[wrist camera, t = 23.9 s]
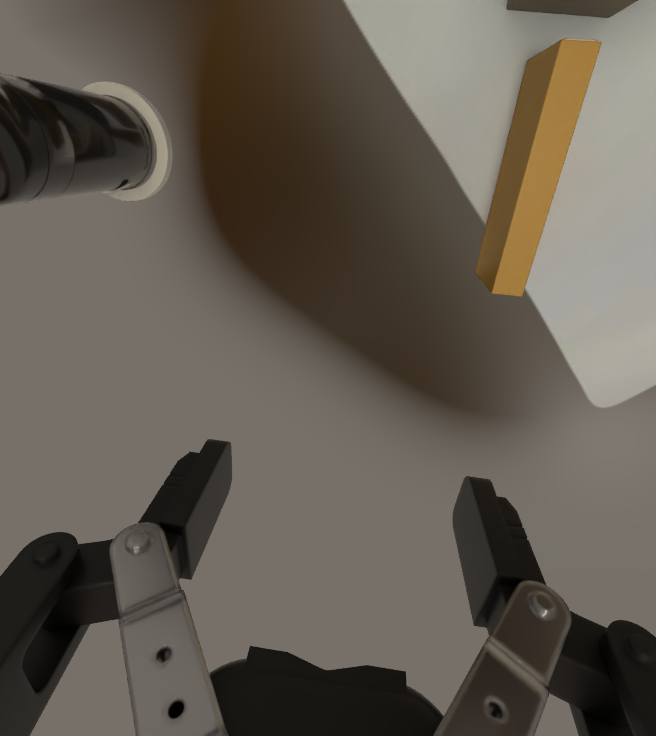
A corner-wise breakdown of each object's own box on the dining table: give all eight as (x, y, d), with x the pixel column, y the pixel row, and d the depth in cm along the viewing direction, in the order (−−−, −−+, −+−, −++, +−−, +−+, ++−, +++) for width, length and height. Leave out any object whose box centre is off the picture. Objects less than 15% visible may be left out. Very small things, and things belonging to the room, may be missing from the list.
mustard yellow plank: (500, 275, 47) (522, 296, 40) (474, 272, 47) (491, 293, 40) (560, 61, 37) (602, 39, 30) (527, 59, 37) (561, 37, 30)
